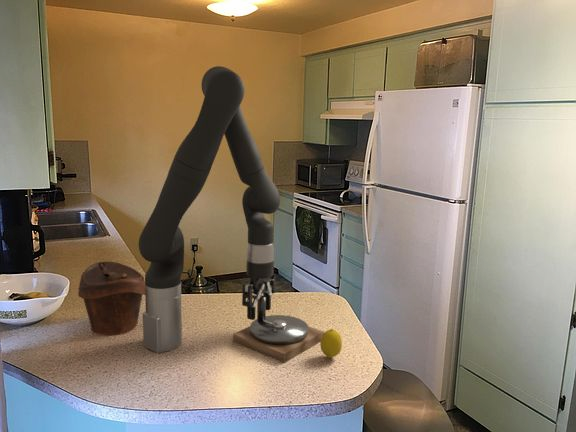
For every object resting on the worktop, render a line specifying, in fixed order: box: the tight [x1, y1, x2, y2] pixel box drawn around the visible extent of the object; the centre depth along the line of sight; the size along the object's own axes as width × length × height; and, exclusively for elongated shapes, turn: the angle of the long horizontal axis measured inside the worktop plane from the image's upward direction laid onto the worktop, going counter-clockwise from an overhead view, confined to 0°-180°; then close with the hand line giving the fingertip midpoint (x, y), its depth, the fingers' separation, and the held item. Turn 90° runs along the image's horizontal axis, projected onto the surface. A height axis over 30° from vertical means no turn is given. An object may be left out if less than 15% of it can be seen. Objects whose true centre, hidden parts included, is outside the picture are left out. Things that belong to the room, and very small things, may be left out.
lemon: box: [319, 328, 343, 359], centre depth 125 cm, size 6×6×8 cm
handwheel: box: [249, 294, 309, 344], centre depth 133 cm, size 16×16×9 cm
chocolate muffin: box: [77, 261, 145, 336], centre depth 139 cm, size 18×20×18 cm
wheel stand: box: [232, 325, 325, 364], centre depth 134 cm, size 18×18×3 cm
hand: (259, 314), depth 136 cm, fingers open, 8 cm apart
